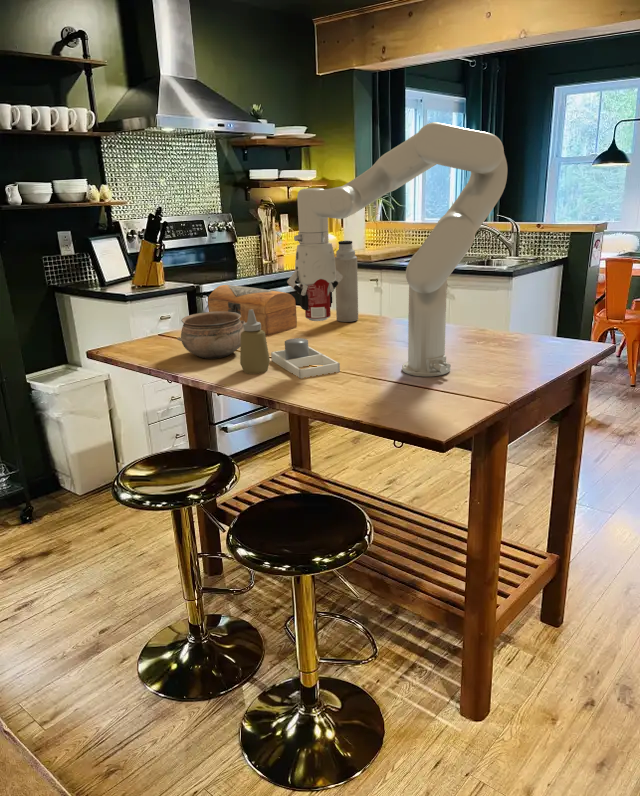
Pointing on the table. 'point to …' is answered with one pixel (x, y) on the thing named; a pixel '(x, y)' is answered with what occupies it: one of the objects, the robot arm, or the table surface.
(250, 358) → the squeeze bottle
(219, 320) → the cooking pot
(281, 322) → the wooden box
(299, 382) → the table surface
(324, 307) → the soda can
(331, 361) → the caddy
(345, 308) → the thermos bottle
